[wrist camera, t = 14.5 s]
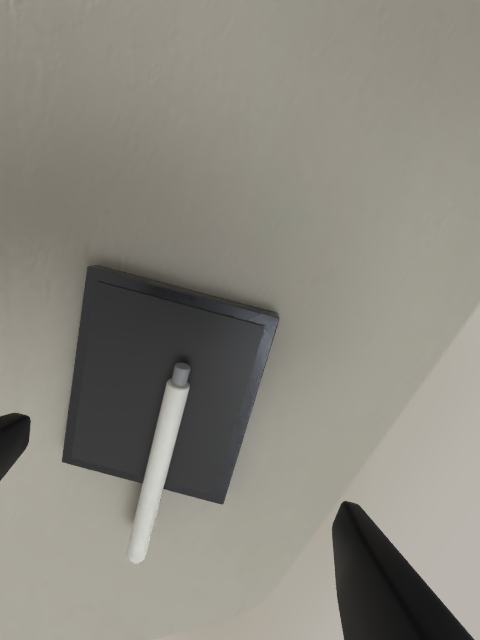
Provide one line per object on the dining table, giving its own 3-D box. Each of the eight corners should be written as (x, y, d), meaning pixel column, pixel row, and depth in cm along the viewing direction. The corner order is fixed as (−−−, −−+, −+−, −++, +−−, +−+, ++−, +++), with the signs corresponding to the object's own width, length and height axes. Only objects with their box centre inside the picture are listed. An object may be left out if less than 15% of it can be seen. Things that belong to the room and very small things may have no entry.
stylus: (189, 374, 16) (140, 567, 19) (197, 365, 17) (149, 549, 20) (167, 366, 16) (121, 559, 19) (176, 358, 17) (132, 542, 20)
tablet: (278, 313, 17) (279, 318, 16) (224, 492, 20) (222, 506, 19) (97, 264, 17) (86, 266, 16) (70, 451, 20) (60, 463, 19)
